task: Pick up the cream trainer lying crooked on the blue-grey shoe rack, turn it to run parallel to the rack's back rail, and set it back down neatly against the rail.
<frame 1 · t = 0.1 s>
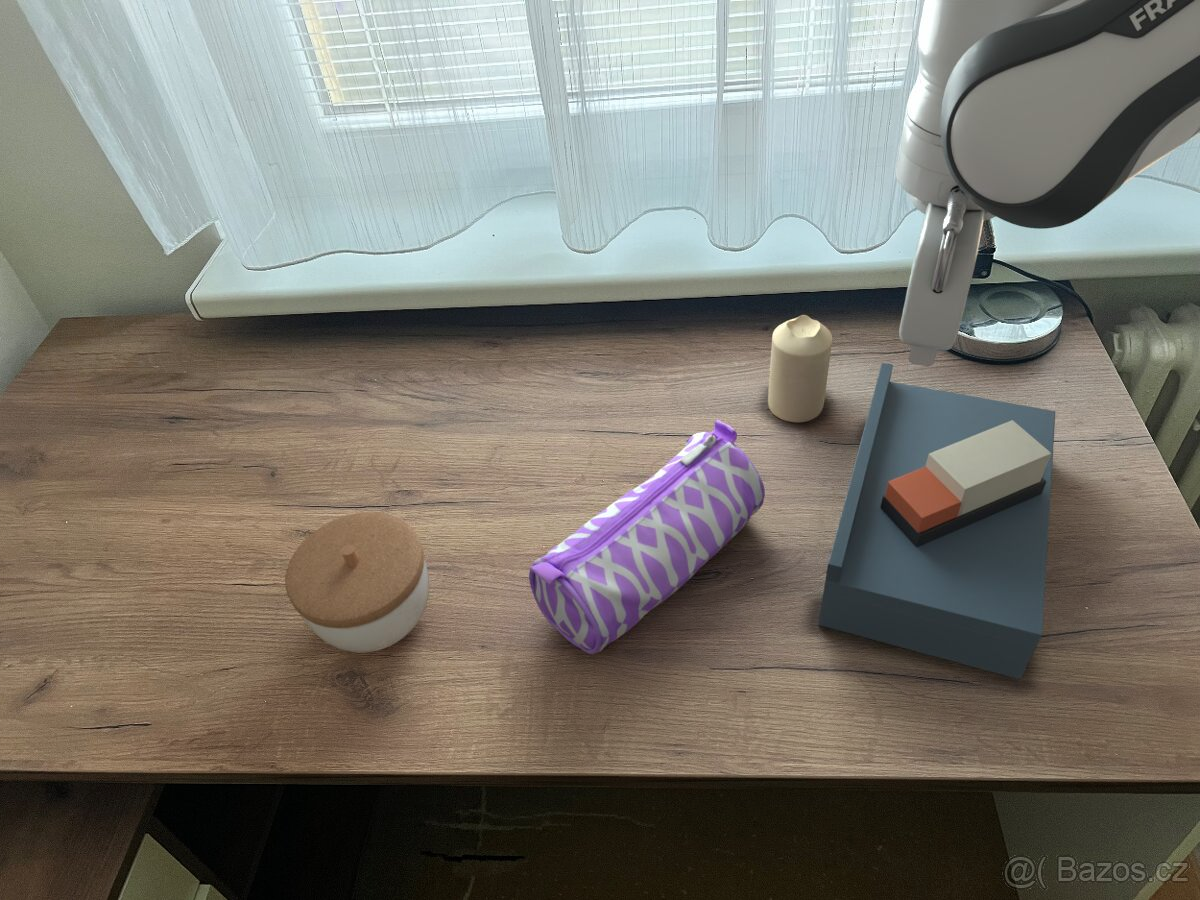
hand: (929, 322, 68), 17 cm above the table, tool pointing down, fingers open, 8 cm apart
pencil case: (654, 569, 75), on the table
candle: (795, 405, 88), on the table
trainer: (960, 500, 70), point 6 cm above the table, touching shoe rack
shoe rack: (935, 536, 75), on the table
trinket box: (379, 620, 74), on the table
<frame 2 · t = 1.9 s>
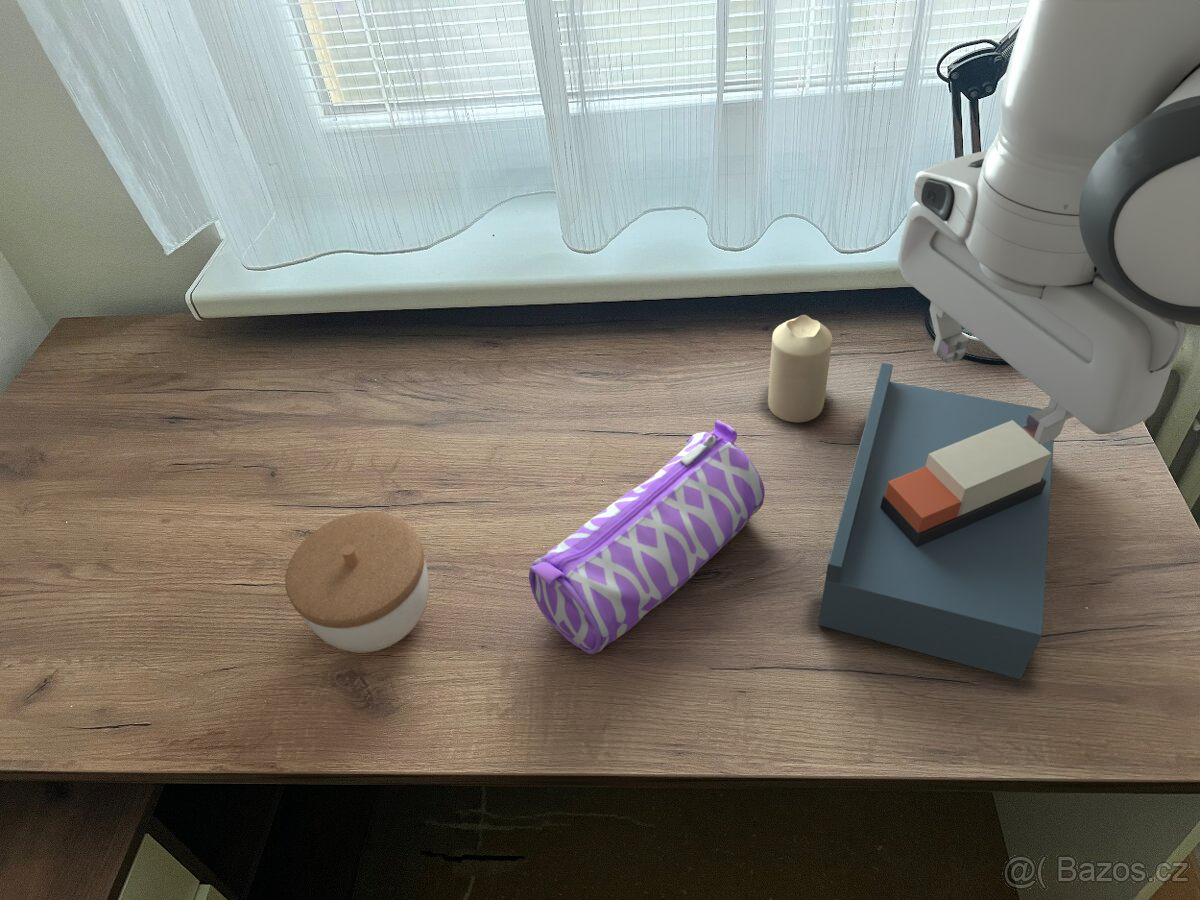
hand: (991, 393, 62), 17 cm above the table, tool pointing down, fingers open, 8 cm apart
nothing on the table moved.
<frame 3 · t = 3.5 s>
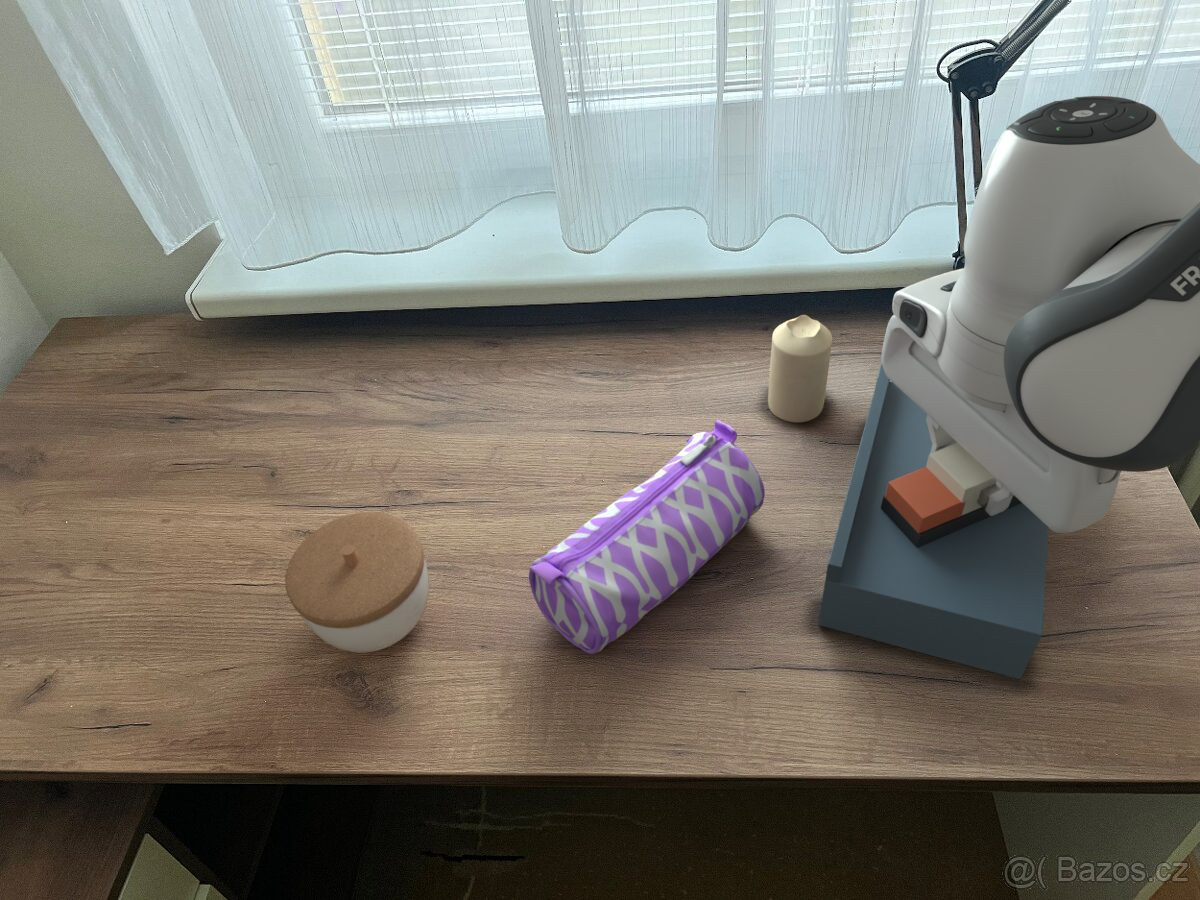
hand: (966, 483, 68), 8 cm above the table, tool pointing down, fingers closed on trainer, 4 cm apart
trainer: (961, 501, 70), point 6 cm above the table, touching gripper, shoe rack
everything else where it was.
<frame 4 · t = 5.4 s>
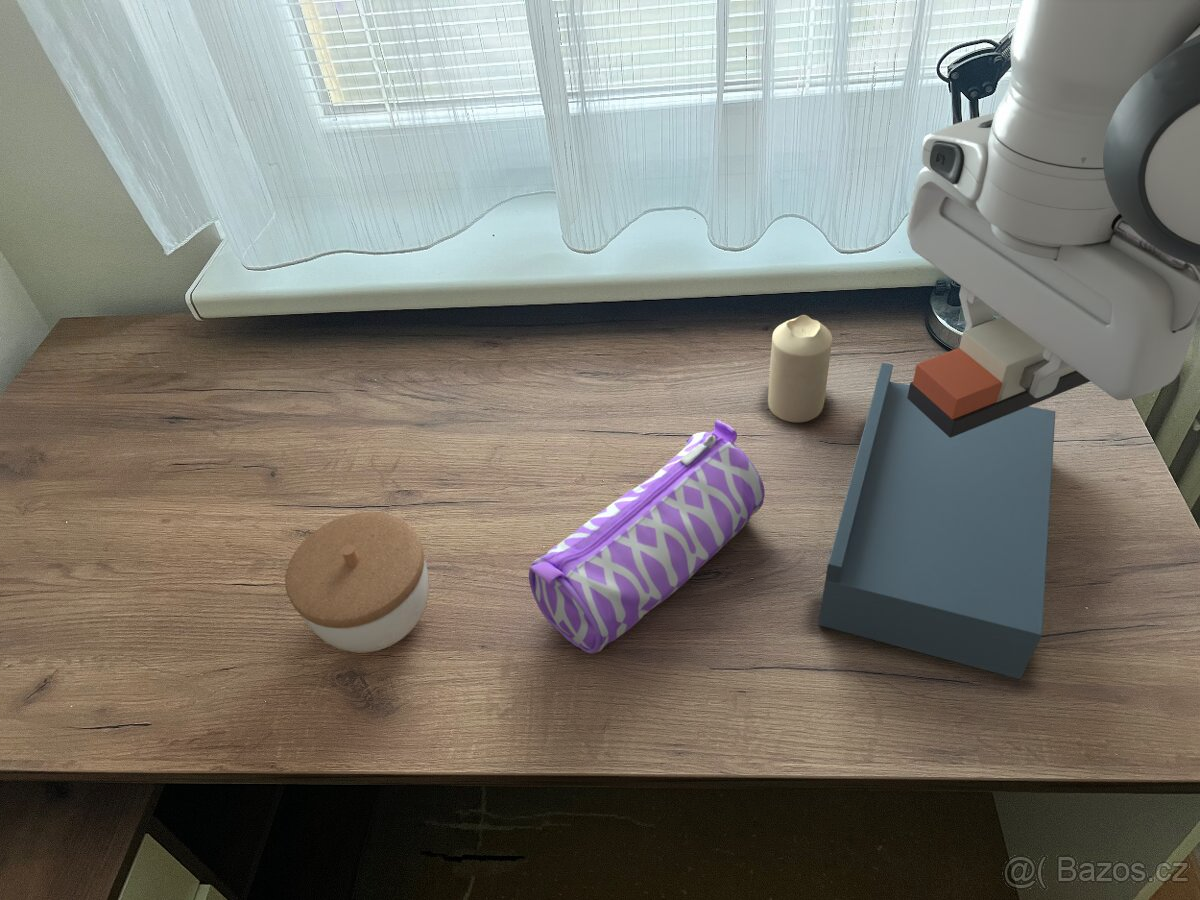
hand: (1005, 365, 60), 20 cm above the table, tool pointing down, fingers closed on trainer, 4 cm apart
trainer: (998, 389, 61), point 18 cm above the table, touching gripper
everything else where it was.
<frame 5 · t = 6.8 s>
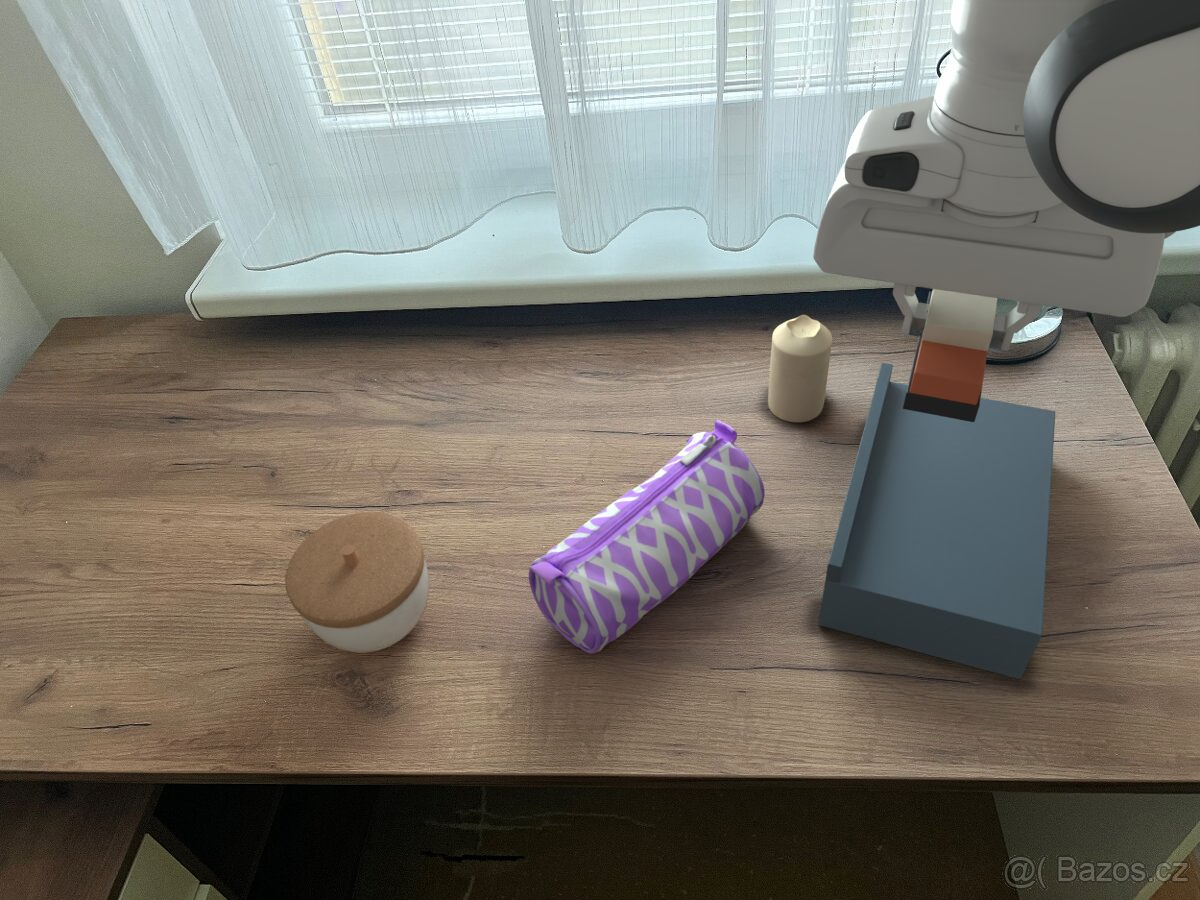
hand: (953, 337, 61), 21 cm above the table, tool pointing down, fingers closed on trainer, 4 cm apart
trainer: (948, 360, 62), point 19 cm above the table, touching gripper
everything else where it was.
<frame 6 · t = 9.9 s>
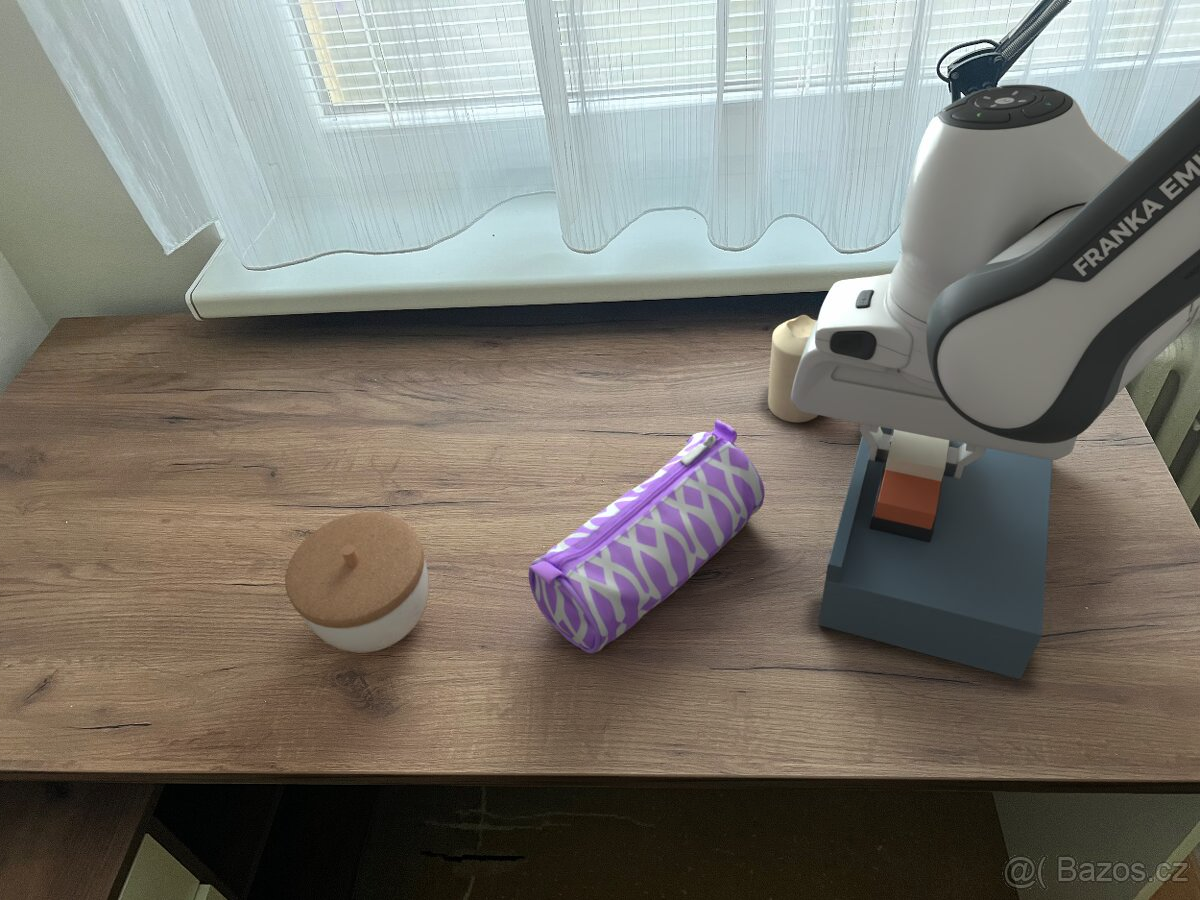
hand: (914, 464, 70), 8 cm above the table, tool pointing down, fingers closed on trainer, 4 cm apart
trainer: (910, 481, 72), point 6 cm above the table, touching gripper, shoe rack
everything else where it was.
when the fingers open (8 cm above the table, at t = 10.4 s): trainer stays where it is, resting on shoe rack.
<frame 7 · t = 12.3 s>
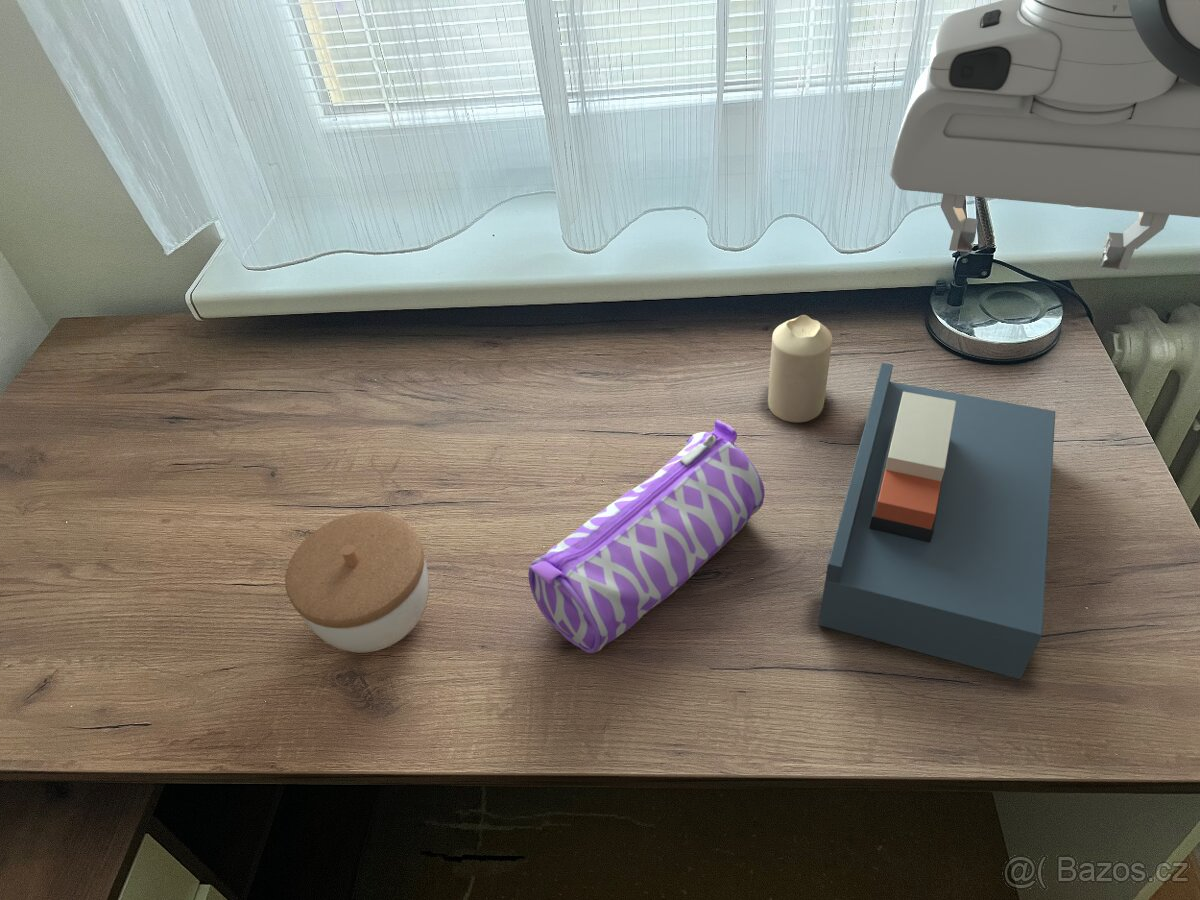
hand: (1034, 255, 59), 26 cm above the table, tool pointing down, fingers open, 8 cm apart
trainer: (910, 481, 72), point 6 cm above the table, touching shoe rack
everything else where it was.
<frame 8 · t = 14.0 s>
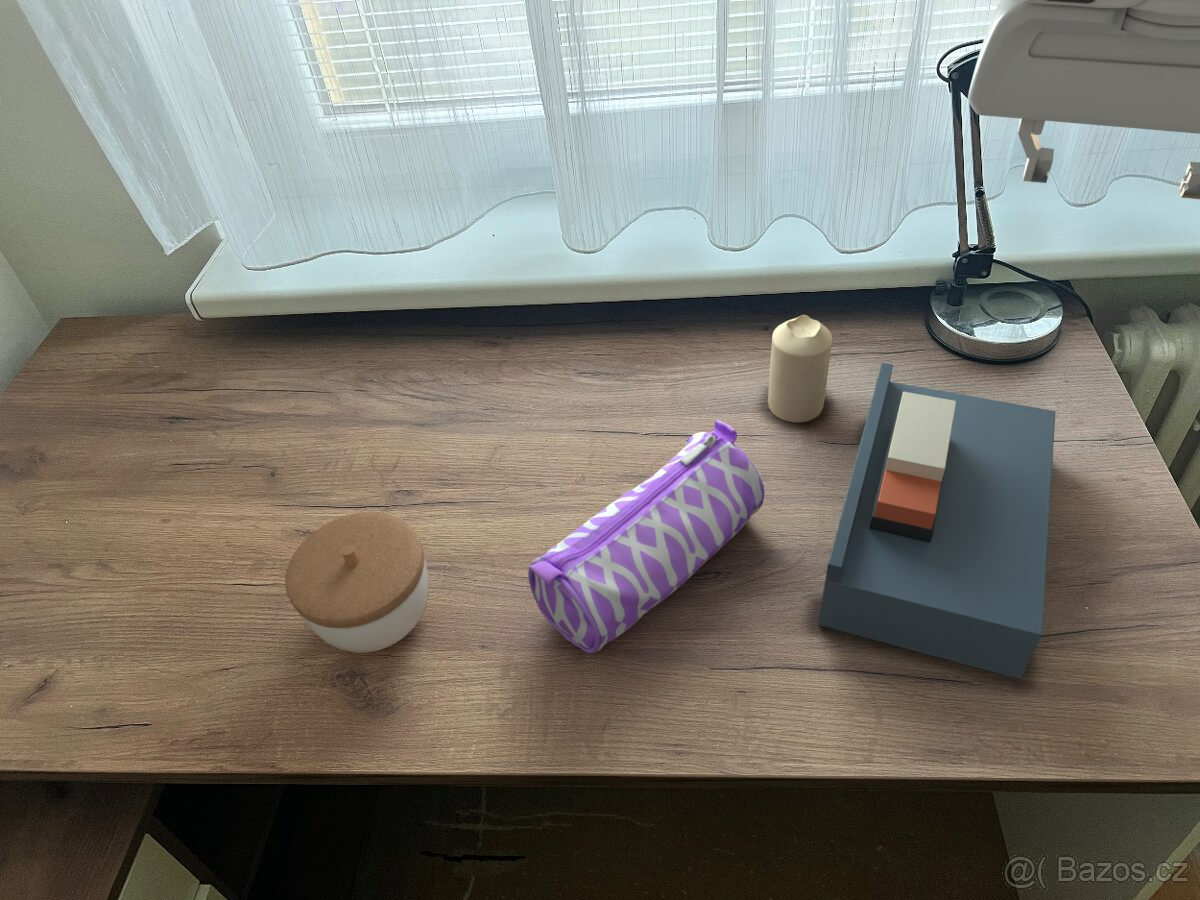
hand: (1111, 186, 58), 29 cm above the table, tool pointing down, fingers open, 8 cm apart
nothing on the table moved.
at the end: trainer 0.2 cm from the target spot, point 6.0 cm above the table; trainer tilted 0°; the gripper is holding nothing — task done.
